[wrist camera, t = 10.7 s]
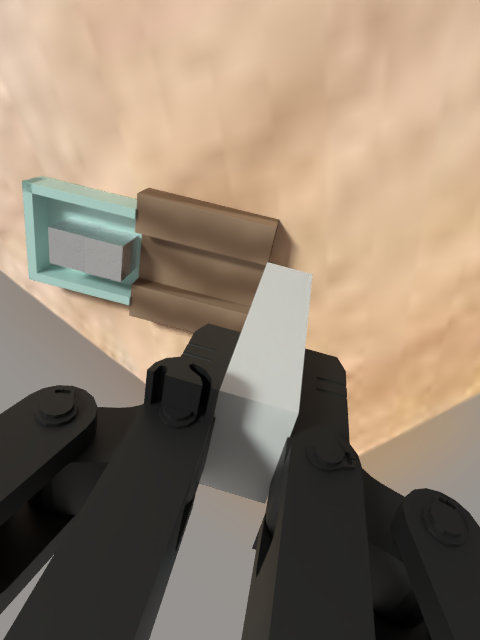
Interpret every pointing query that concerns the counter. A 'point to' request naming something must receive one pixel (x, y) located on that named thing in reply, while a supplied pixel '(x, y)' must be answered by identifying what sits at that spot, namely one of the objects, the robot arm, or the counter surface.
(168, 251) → the slot board
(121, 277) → the grey wood-grain cube
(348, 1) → the counter surface
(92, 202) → the tray
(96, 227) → the grey cube-shaped block
